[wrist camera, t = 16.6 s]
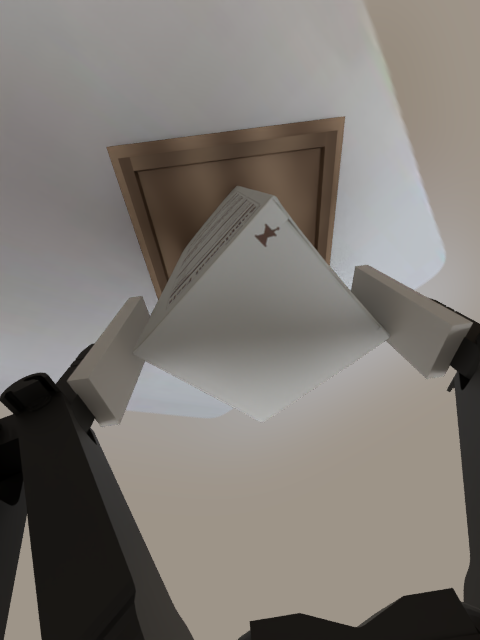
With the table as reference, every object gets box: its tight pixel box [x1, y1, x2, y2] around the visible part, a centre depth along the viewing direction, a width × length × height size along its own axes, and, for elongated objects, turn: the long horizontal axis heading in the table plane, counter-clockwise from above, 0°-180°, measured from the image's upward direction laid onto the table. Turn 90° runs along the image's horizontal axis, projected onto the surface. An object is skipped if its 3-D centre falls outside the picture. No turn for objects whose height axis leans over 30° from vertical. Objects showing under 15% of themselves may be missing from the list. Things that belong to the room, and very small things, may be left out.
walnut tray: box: [107, 116, 345, 300], centre depth 25 cm, size 21×21×2 cm
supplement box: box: [133, 186, 390, 422], centre depth 18 cm, size 10×9×17 cm
